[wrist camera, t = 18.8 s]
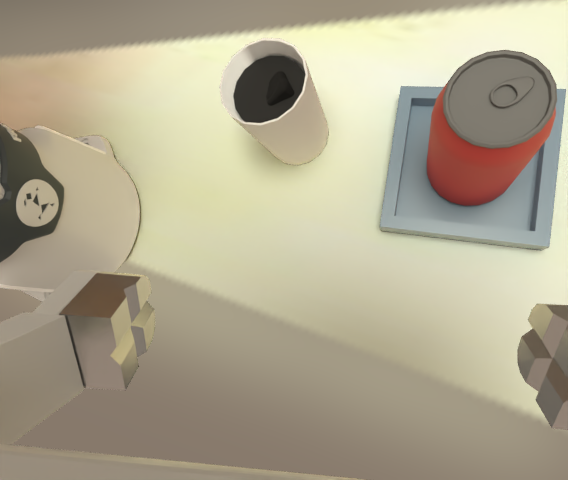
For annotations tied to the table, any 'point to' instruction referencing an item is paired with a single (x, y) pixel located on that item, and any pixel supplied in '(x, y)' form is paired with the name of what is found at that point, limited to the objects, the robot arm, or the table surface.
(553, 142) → the slate tray
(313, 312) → the table surface
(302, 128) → the white coffee cup
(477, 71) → the beer can
